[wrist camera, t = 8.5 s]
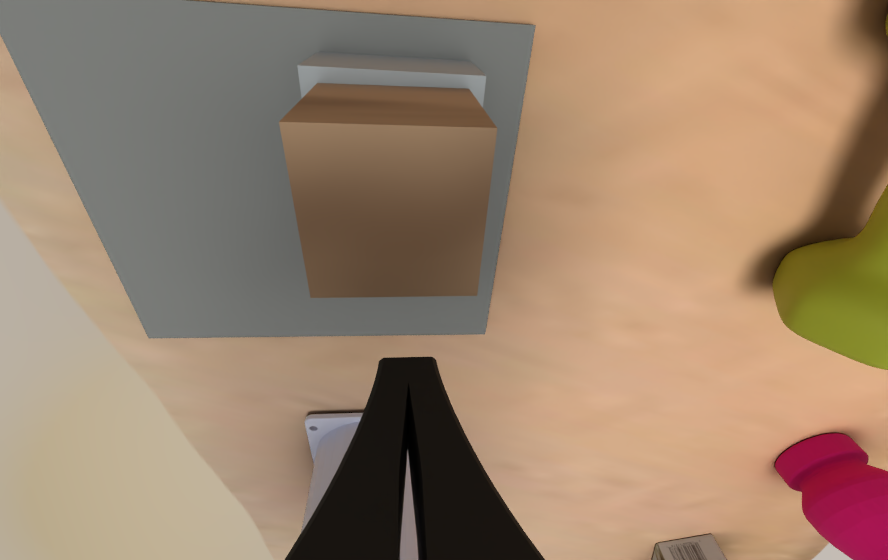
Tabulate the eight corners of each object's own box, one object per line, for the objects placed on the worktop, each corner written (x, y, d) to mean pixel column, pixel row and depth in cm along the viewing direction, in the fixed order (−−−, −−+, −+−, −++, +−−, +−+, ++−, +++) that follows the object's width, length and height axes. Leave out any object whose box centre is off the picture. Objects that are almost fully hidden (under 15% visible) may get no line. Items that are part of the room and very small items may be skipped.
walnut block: (458, 222, 15) (477, 295, 11) (333, 221, 14) (310, 297, 11) (468, 88, 12) (497, 127, 9) (317, 82, 12) (278, 121, 8)
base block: (458, 198, 18) (468, 236, 15) (332, 196, 17) (319, 235, 15) (470, 60, 15) (486, 76, 12) (318, 51, 14) (297, 65, 11)
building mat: (483, 329, 23) (485, 334, 23) (152, 333, 21) (148, 338, 21) (532, 24, 15) (535, 25, 14) (-13, -15, 13) (-24, -15, 13)
